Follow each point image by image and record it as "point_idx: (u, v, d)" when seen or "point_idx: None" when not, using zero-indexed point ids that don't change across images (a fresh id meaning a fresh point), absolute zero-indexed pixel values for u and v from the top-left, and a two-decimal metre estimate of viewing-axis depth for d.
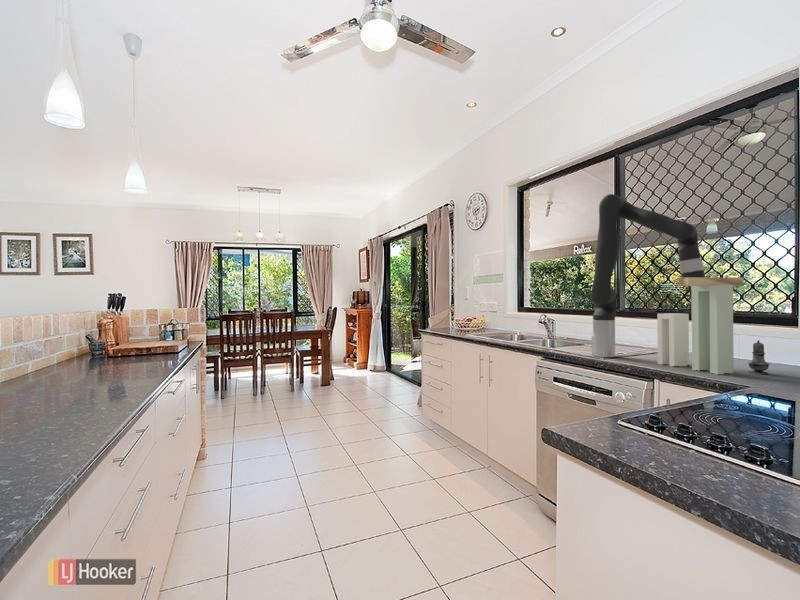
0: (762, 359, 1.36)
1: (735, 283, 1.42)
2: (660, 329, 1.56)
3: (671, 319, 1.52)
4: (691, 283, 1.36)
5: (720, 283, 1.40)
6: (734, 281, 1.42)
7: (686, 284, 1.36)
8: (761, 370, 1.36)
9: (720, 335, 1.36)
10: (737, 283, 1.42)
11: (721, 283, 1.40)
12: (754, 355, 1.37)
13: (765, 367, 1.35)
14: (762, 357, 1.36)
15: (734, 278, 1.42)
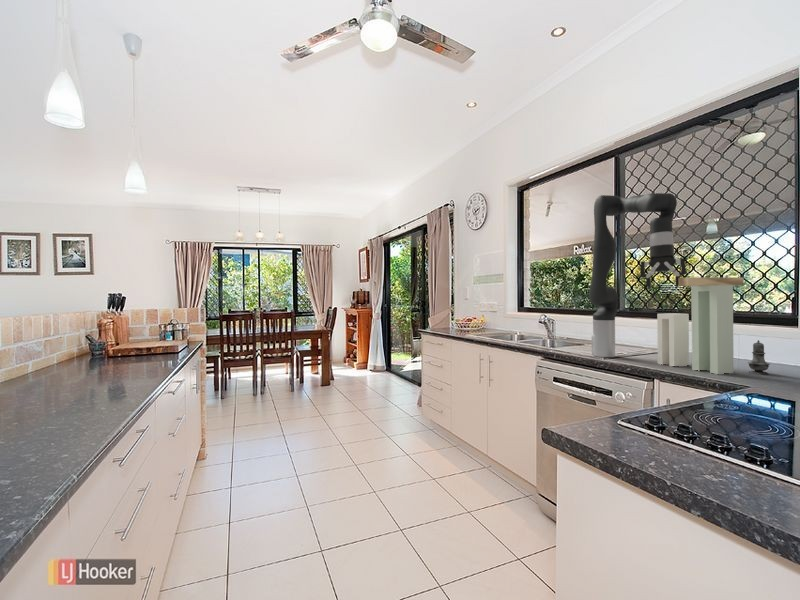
0: (762, 359, 1.36)
1: (735, 283, 1.42)
2: (660, 329, 1.56)
3: (671, 319, 1.52)
4: (691, 283, 1.36)
5: (720, 283, 1.40)
6: (734, 281, 1.42)
7: (686, 284, 1.36)
8: (761, 370, 1.36)
9: (720, 335, 1.36)
10: (737, 283, 1.42)
11: (721, 283, 1.40)
12: (754, 355, 1.37)
13: (765, 367, 1.35)
14: (762, 357, 1.36)
15: (734, 278, 1.42)
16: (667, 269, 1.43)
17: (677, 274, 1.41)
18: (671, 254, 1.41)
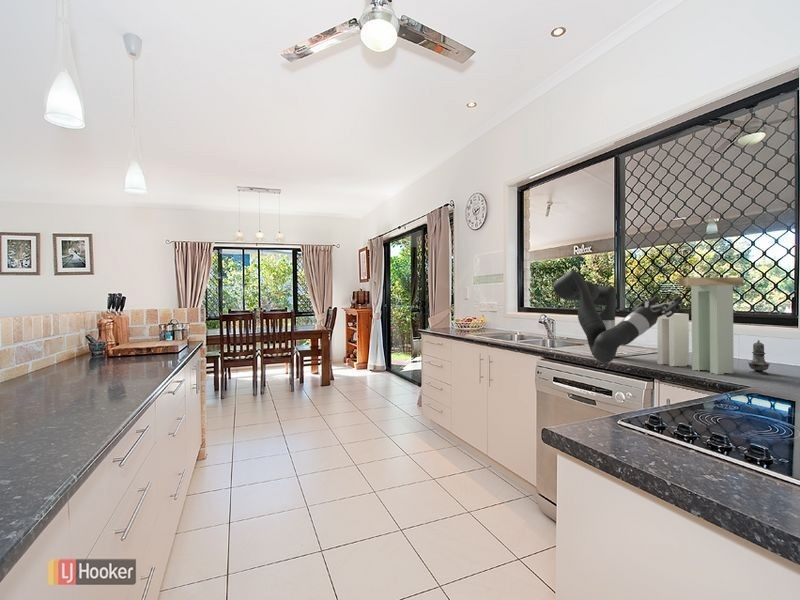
0: (762, 359, 1.36)
1: (735, 283, 1.42)
2: (660, 329, 1.56)
3: (671, 319, 1.52)
4: (691, 283, 1.36)
5: (720, 283, 1.40)
6: (734, 281, 1.42)
7: (686, 284, 1.36)
8: (761, 370, 1.36)
9: (720, 335, 1.36)
10: (737, 283, 1.42)
11: (721, 283, 1.40)
12: (754, 355, 1.37)
13: (765, 367, 1.35)
14: (762, 357, 1.36)
15: (734, 278, 1.42)
16: None
17: None
18: (656, 321, 1.29)
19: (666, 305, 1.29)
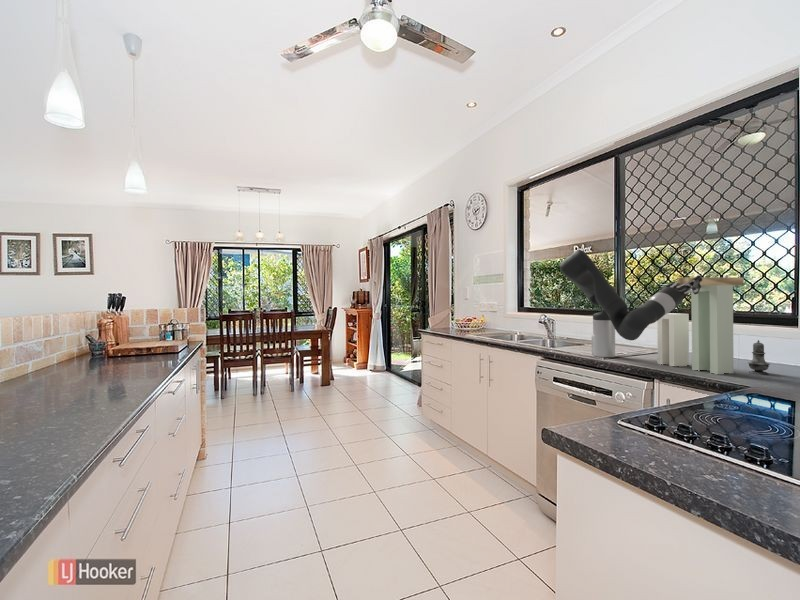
0: (762, 359, 1.36)
1: (735, 283, 1.42)
2: (660, 329, 1.56)
3: (671, 319, 1.52)
4: None
5: (720, 283, 1.40)
6: (734, 281, 1.42)
7: None
8: (761, 370, 1.36)
9: (720, 335, 1.36)
10: (737, 283, 1.42)
11: (721, 283, 1.40)
12: (754, 355, 1.37)
13: (765, 367, 1.35)
14: (762, 357, 1.36)
15: (734, 278, 1.42)
16: None
17: None
18: (681, 301, 1.33)
19: (689, 284, 1.34)
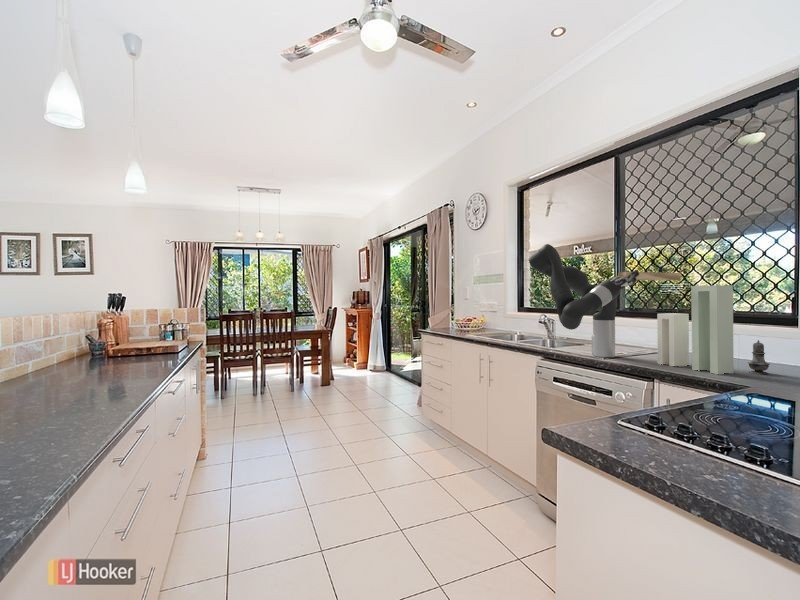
0: (762, 359, 1.36)
1: (672, 278, 1.53)
2: (660, 329, 1.56)
3: (671, 319, 1.52)
4: None
5: (657, 277, 1.51)
6: (671, 276, 1.53)
7: None
8: (761, 370, 1.36)
9: (720, 335, 1.36)
10: (674, 278, 1.53)
11: (658, 277, 1.51)
12: (754, 355, 1.37)
13: (765, 367, 1.35)
14: (762, 357, 1.36)
15: (671, 273, 1.53)
16: None
17: None
18: (618, 293, 1.44)
19: (626, 278, 1.45)
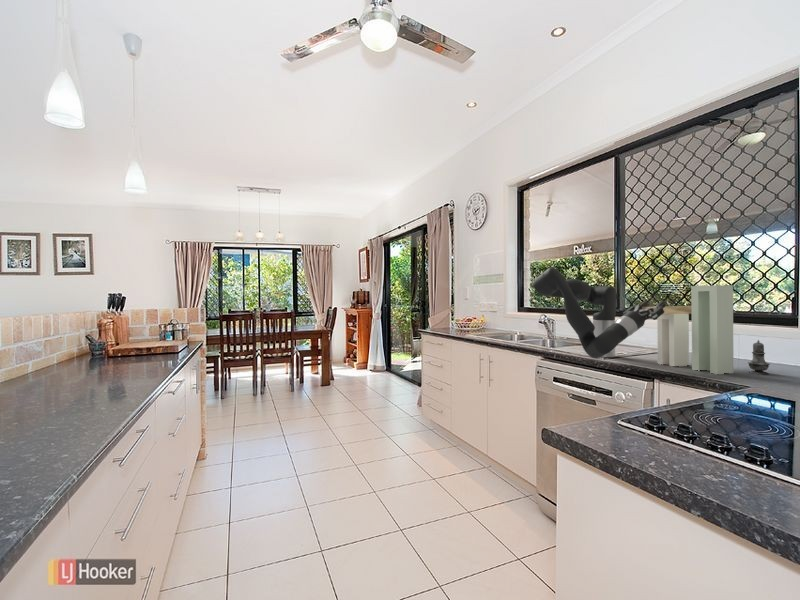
0: (761, 359, 1.36)
1: None
2: (660, 329, 1.56)
3: (671, 319, 1.52)
4: None
5: (680, 311, 1.54)
6: None
7: None
8: (761, 370, 1.36)
9: (720, 335, 1.36)
10: None
11: (681, 311, 1.54)
12: (754, 355, 1.37)
13: (765, 367, 1.35)
14: (762, 357, 1.36)
15: None
16: None
17: None
18: (643, 324, 1.47)
19: (652, 309, 1.47)
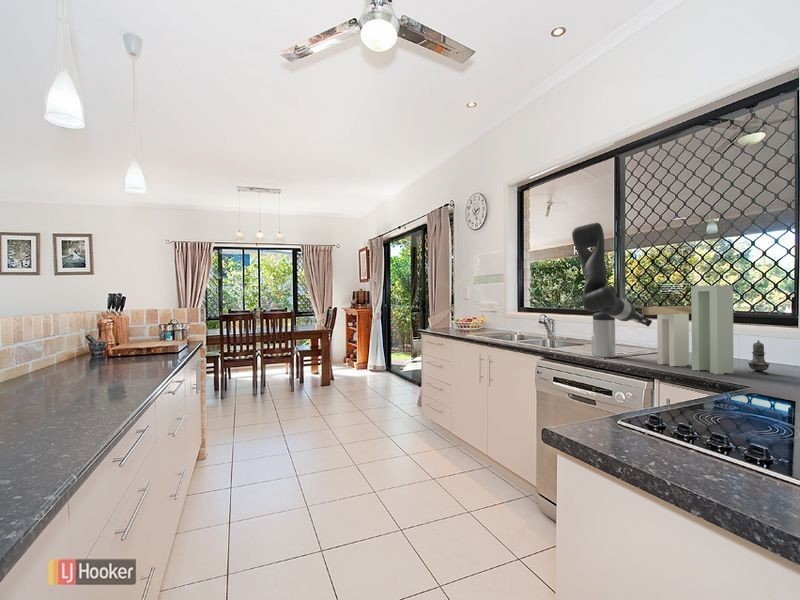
0: (762, 359, 1.36)
1: None
2: (660, 329, 1.56)
3: (671, 319, 1.52)
4: (653, 313, 1.50)
5: (680, 311, 1.54)
6: None
7: (648, 313, 1.50)
8: (761, 370, 1.36)
9: (720, 335, 1.36)
10: None
11: (681, 311, 1.54)
12: (754, 355, 1.37)
13: (765, 367, 1.35)
14: (762, 357, 1.36)
15: None
16: None
17: None
18: None
19: (642, 317, 1.46)
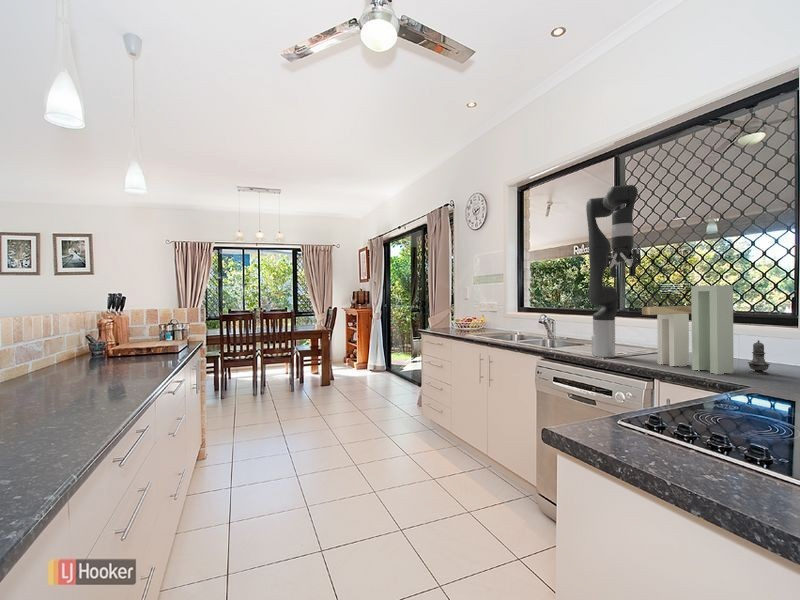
0: (762, 359, 1.36)
1: None
2: (660, 329, 1.56)
3: (671, 319, 1.52)
4: (653, 313, 1.50)
5: (680, 311, 1.54)
6: None
7: (648, 313, 1.50)
8: (761, 370, 1.36)
9: (720, 335, 1.36)
10: None
11: (681, 311, 1.54)
12: (754, 355, 1.37)
13: (765, 367, 1.35)
14: (762, 357, 1.36)
15: None
16: (624, 259, 1.48)
17: (630, 264, 1.45)
18: (624, 245, 1.46)
19: (633, 260, 1.46)
